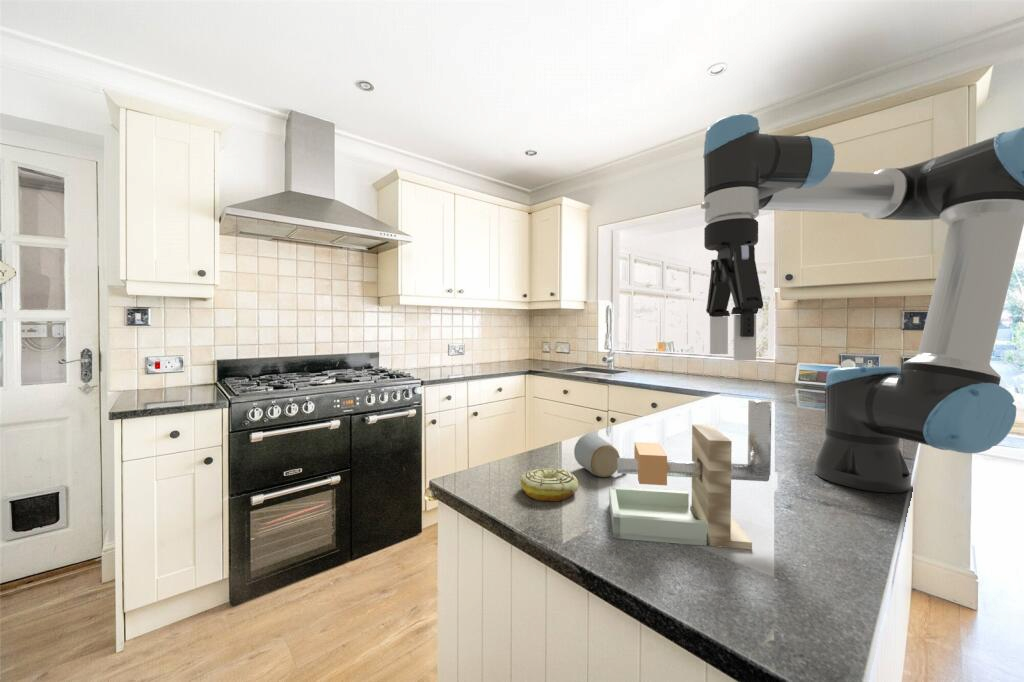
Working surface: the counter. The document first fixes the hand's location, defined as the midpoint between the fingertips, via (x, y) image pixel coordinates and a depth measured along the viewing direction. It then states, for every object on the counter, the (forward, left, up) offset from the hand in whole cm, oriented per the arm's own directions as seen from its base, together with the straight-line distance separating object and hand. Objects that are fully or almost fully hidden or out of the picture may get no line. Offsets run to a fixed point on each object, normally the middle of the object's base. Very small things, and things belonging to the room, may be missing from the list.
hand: (730, 357), depth 66 cm
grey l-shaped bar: (+6, +3, -19) cm, 20 cm away
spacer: (+13, +3, -19) cm, 23 cm away
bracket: (+2, +3, -27) cm, 27 cm away
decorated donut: (+30, -7, -27) cm, 41 cm away
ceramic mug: (+19, -21, -27) cm, 39 cm away
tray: (+12, +3, -27) cm, 29 cm away
